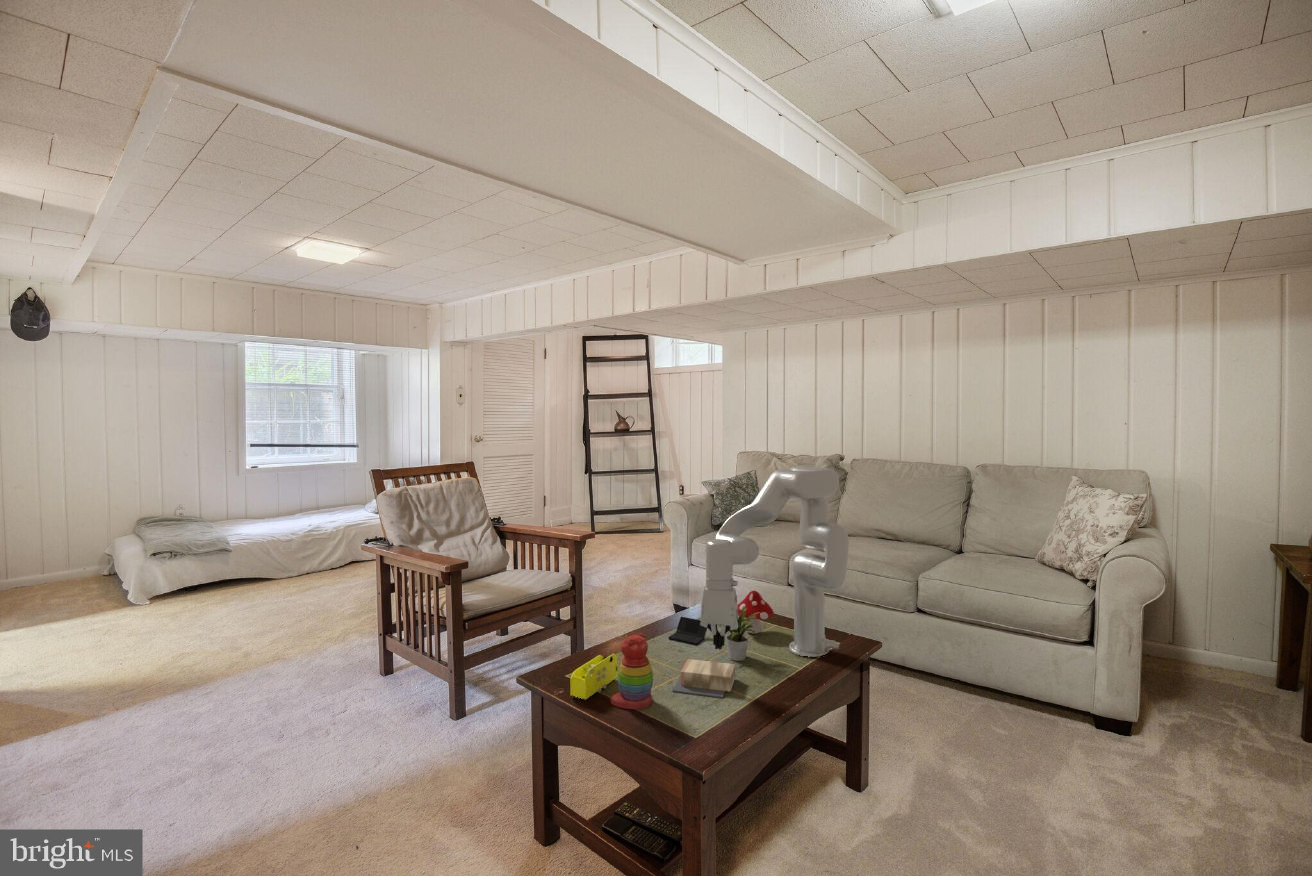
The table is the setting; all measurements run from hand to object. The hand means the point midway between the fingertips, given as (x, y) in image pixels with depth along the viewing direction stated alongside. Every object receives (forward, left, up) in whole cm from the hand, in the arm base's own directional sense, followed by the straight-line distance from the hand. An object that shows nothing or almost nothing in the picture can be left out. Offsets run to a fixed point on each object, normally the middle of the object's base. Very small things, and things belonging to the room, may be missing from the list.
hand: (718, 647), depth 174 cm
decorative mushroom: (-5, -43, -11) cm, 45 cm away
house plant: (-3, -19, -11) cm, 22 cm away
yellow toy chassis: (+33, +12, -11) cm, 37 cm away
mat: (+4, 0, -11) cm, 12 cm away
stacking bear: (+20, +16, -11) cm, 28 cm away
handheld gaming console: (+16, -32, -11) cm, 38 cm away
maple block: (-4, 0, -8) cm, 9 cm away
